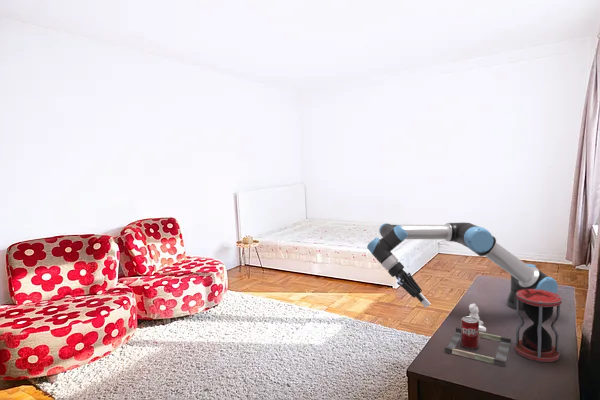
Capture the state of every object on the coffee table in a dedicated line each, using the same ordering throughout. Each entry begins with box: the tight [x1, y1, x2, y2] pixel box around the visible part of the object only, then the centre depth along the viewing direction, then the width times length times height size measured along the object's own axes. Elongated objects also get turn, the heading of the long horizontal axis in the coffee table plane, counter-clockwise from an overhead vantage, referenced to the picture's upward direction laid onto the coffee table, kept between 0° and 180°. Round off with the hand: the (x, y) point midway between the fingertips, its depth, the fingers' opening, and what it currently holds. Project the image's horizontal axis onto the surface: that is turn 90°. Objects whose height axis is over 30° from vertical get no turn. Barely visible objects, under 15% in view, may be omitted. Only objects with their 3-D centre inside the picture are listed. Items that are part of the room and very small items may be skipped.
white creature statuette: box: [468, 303, 487, 333], centre depth 188 cm, size 10×9×12 cm
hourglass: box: [514, 289, 563, 363], centre depth 163 cm, size 16×16×25 cm
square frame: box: [444, 327, 512, 367], centre depth 170 cm, size 22×23×2 cm
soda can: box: [460, 315, 480, 350], centre depth 172 cm, size 7×7×12 cm
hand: (428, 305), depth 180 cm, fingers closed
